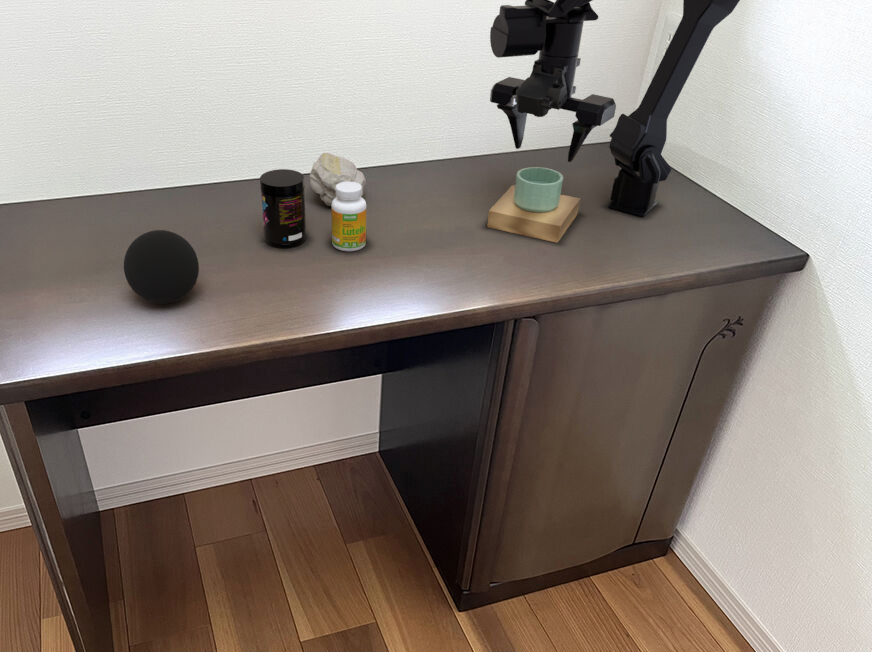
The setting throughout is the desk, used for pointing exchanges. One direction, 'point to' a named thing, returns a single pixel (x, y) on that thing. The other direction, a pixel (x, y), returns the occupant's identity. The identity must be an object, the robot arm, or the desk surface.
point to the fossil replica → (333, 176)
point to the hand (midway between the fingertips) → (543, 154)
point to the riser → (533, 218)
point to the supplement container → (283, 207)
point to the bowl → (538, 189)
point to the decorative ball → (161, 266)
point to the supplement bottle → (348, 217)
